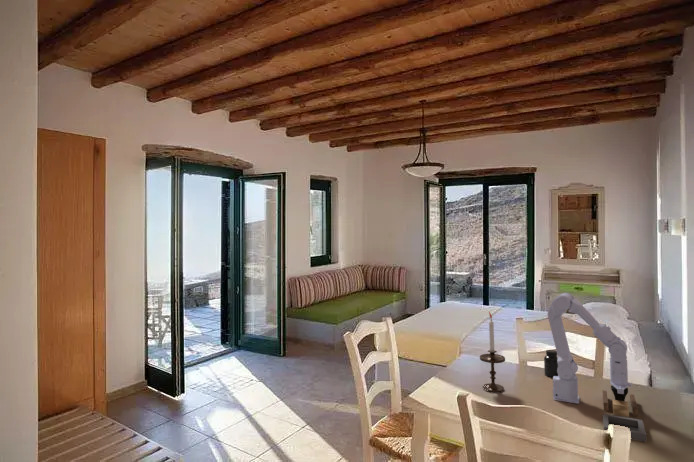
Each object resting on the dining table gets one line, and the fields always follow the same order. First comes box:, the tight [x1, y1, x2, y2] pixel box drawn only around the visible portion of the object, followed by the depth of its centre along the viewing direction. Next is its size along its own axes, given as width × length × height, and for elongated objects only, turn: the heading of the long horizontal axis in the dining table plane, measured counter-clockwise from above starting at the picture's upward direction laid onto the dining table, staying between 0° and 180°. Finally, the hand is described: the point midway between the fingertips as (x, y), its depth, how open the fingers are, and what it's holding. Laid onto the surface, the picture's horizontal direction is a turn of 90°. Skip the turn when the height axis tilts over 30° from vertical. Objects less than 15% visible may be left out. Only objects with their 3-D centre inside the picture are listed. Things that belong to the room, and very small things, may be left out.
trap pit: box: [602, 413, 648, 443], centre depth 147 cm, size 12×12×2 cm
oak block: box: [612, 399, 630, 418], centre depth 160 cm, size 5×5×4 cm
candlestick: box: [479, 311, 506, 393], centre depth 188 cm, size 11×11×35 cm
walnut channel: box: [602, 390, 639, 417], centre depth 167 cm, size 11×14×3 cm
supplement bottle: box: [543, 349, 558, 378], centre depth 203 cm, size 7×7×12 cm
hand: (619, 405), depth 164 cm, fingers closed
